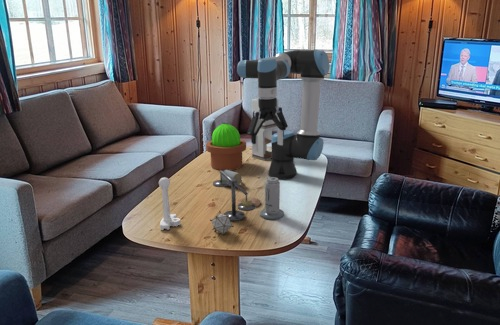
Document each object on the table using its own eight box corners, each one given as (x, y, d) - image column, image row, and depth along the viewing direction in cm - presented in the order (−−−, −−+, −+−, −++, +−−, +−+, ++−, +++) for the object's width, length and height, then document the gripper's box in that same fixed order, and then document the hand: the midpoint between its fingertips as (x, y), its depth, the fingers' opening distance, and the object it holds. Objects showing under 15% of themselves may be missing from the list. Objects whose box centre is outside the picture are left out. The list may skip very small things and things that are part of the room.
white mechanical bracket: (166, 218, 188) (162, 173, 182) (183, 219, 187) (181, 173, 181) (157, 230, 177) (154, 182, 171) (176, 231, 176) (173, 182, 171)
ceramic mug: (234, 189, 220) (233, 174, 218) (220, 186, 224) (220, 171, 222) (245, 183, 229) (245, 168, 227) (232, 180, 233) (232, 166, 231)
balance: (209, 210, 195) (207, 170, 190) (226, 205, 200) (225, 166, 195) (243, 230, 176) (242, 185, 171) (261, 224, 181) (260, 180, 176)
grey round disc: (273, 208, 197) (273, 206, 197) (289, 215, 189) (289, 213, 189) (255, 214, 191) (255, 211, 191) (270, 221, 183) (270, 219, 183)
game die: (220, 243, 174) (207, 229, 167) (215, 228, 180) (203, 214, 174) (240, 232, 173) (228, 218, 166) (235, 217, 179) (223, 202, 173)
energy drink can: (262, 211, 191) (262, 178, 186) (274, 208, 194) (274, 175, 189) (270, 216, 186) (270, 182, 182) (282, 213, 189) (282, 179, 185)
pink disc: (251, 197, 209) (251, 195, 209) (265, 204, 201) (265, 202, 201) (233, 203, 203) (233, 200, 203) (247, 209, 196) (247, 207, 195)
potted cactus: (232, 174, 242) (231, 128, 235) (199, 168, 253) (197, 124, 246) (253, 163, 260) (252, 121, 253) (222, 158, 271) (220, 117, 264)
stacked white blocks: (264, 160, 265) (264, 101, 255) (252, 157, 273) (251, 99, 263) (278, 157, 273) (278, 99, 262) (265, 153, 280) (265, 97, 270)
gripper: (249, 102, 173) (250, 155, 180) (296, 94, 188) (295, 143, 194) (237, 100, 179) (239, 151, 185) (283, 92, 193) (283, 140, 200)
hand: (268, 147), depth 190 cm, fingers open, 13 cm apart
